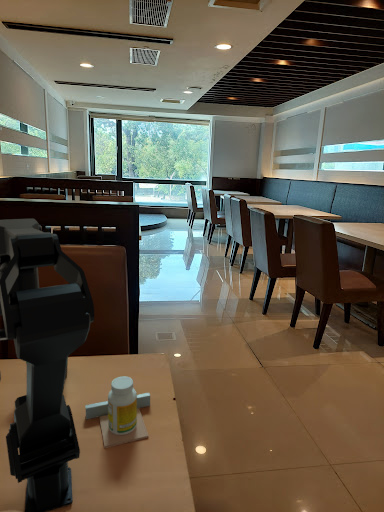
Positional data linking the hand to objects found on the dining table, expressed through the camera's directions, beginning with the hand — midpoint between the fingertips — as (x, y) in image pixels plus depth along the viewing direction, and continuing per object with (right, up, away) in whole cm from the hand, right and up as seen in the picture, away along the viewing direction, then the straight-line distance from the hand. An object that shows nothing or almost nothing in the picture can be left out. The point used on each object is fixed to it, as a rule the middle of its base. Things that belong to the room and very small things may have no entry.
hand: (28, 376), depth 61 cm
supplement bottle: (+16, -12, +5) cm, 20 cm away
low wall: (+14, -10, +10) cm, 20 cm away
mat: (+16, -12, +5) cm, 20 cm away
